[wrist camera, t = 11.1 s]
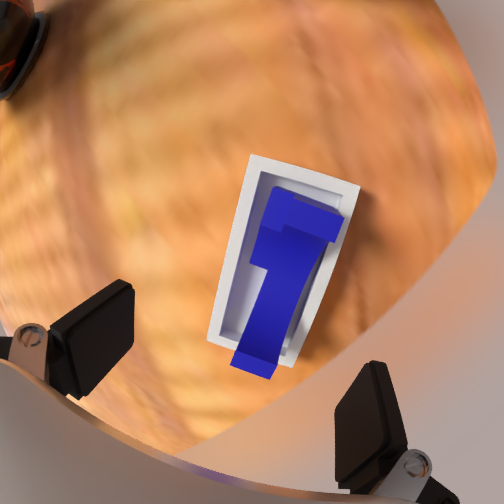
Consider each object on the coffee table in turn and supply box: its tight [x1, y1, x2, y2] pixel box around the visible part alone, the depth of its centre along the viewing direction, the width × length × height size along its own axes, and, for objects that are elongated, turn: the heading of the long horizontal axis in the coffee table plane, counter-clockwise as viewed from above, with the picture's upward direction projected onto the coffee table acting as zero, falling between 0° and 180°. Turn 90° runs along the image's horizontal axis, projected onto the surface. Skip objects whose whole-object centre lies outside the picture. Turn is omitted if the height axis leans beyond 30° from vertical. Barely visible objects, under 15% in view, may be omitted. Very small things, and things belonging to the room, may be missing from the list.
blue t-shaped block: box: [230, 186, 345, 380], centre depth 19 cm, size 12×4×6 cm, turn 162°
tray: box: [207, 154, 361, 368], centre depth 21 cm, size 16×8×2 cm, turn 165°
